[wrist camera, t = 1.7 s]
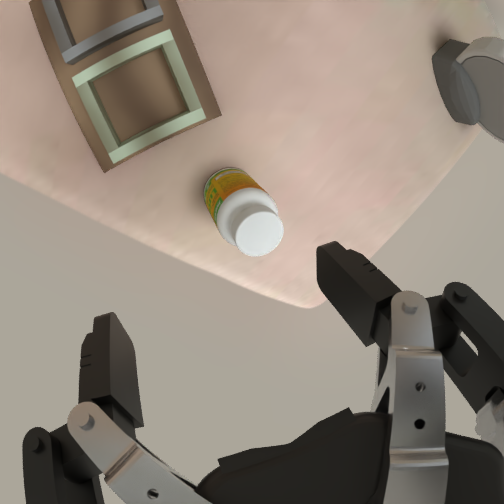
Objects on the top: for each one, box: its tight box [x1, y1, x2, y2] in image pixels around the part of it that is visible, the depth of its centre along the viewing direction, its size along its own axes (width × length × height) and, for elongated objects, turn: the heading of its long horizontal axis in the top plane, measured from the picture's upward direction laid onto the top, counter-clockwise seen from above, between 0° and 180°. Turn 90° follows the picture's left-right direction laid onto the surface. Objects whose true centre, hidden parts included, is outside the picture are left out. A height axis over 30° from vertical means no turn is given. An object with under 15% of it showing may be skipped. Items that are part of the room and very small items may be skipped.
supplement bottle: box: [204, 168, 284, 256], centre depth 27 cm, size 5×5×10 cm
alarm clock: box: [432, 37, 504, 143], centre depth 24 cm, size 16×10×18 cm, turn 43°
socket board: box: [29, 0, 222, 173], centre depth 18 cm, size 12×20×4 cm, turn 19°
